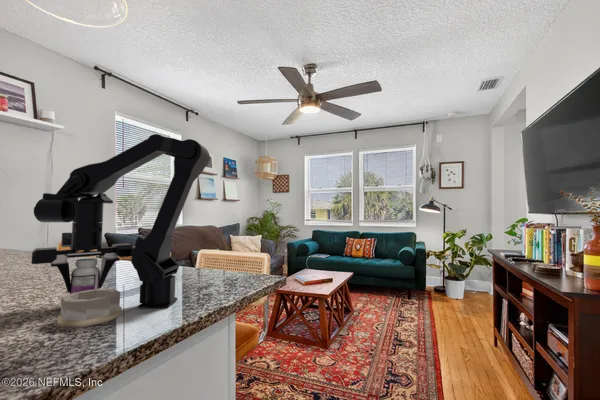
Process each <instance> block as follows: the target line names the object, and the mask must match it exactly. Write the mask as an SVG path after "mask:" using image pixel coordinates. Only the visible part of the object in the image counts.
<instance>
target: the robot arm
mask: <svg viewBox="0 0 600 400" xmlns="http://www.w3.org/2000/svg"><path fill="white" fill-rule="evenodd" d="M162 155H166V156H169V157H173V158H174V160H173V176H172V179H171V181H170V184H169V186H168V188H167V191H166V193H165V196H164V199H163V200H162V204H161V205H160V208H159V210H158V212H157V215H156V218H155V220H154V222H153V225H152V228H151V230H150V232H149V233H148V234H147V235H142V236H137V238H136V240H135V243H134V245H133V244H131V243H129V242H127V243H126V242H125V243H112V245H111V246H110V247H102V246H103V243H102V241H103V223H104V204H109V205H110V204H114V201H113V199H111V198H110V197H108V195H107V194H106V192H107V191H108V190H109V189H111V188H112V187H114V186H115V185H116V183H117V182H118V180H119V179H121V177H123V176H125V175H126V174H128V173H131V172H133V171H134V170H136V169H138V168H140V167H142V166H143V165H146V164H147V163H149V162H151V161H152V160H155V159H156V158H158V157H160V156H162ZM210 158H211V157H210V153H209V151H208V149H207V147H205V146H203V145H202V144H201V143H199V142H198V141H197V140H195V139H191V138H190V139H189V138H188V139H184V140H181V139H178V138H173V137H167V136H163V135H161V134H159V133H157V134H156V133H155V134H154V133H153V134H151V135H150V136H148V138H146V139H144V140H143V141H142V140H141V142H138V143H137V144H135V145H133V146H131V147H130V148H126V150H124V151H121V152H120V153H118V154H116V155H115V156H112V157H111V158H109V159H107V160H104V161H102V162H96V163H95V162H94V163H91V164H89V163H88V164H86V165H82V166H80V167H77V168H75V169H73V170H72V171H71V172H70V173H69V178H68V179H67V180H66V181H65V182H64V184H63V185H62V186H61V187H60V188H59V190H58V191H57V192H56V193H48V192H46V193H45V192H44V193H42V198H40V199H39V200H38V201H37V202H36V204H35V206H34V207H33V215H34V217H35V219H36V220H37V221H38V222H40V223H70V222H72V224H71V225H72V226H71V232H61V248H69V249H62V250H58V248H57V247H37V248H34V249H33V250H32V252H31V265H39V264H40V265H42V264H43V265H44V264H50V267H51V268H54V267H57V269H58V271H59V272H60V274H61V275H62V278H63V282H64V285H65V288H66V290H67V293H68V294H70V292H71V273H70V265H69V261H68V259H73V258H83V257H84V258H85V257H97V256H101V265H100V269H99V270H100V279H99V289H102V287H103V285H104V283H105V281H106V278H107V276H108V274H109V272H110V270H111V268H113V266H114V265H115V262H119V261H120V258H127V257H131V258H130V259H131V261H130V262H131V264H132V266H133V268H134V269H135V271H136V272H137V276H138V279H139V281H140V282H142V284H140V285H139V304H138V305H137V309H167V308H169V307H170V306H171V305H172V304H174V303H175V302H176V301H177V300H178V297H176V295H175V294H176V275H177V273H178V271H179V268H180V264H178V262H176V260H174V258H173V257H172V256H171V252H172V249H173V245H172V244H173V242H172V241H173V239H172V236H173V233H174V231H175V229H176V226H177V223H178V221H179V218H180V216H181V214H182V211H183V209H184V206H185V203H186V201H187V199H188V196H189V193H190V191H191V188H192V186H193V184H194V182H195V181H196V179H197V178H198V177H199V176H200V175H201V174H202V173H203V172H204V170H205V169H206V166H208V164H209V161H210ZM175 274H176V275H175Z"/></svg>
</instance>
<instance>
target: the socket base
mask: <svg viewBox="0 0 600 400" xmlns="http://www.w3.org/2000/svg"><path fill="white" fill-rule="evenodd" d="M120 303H121V291H119V290H117V289H115V288H100V289H94V290H87V291H81V292H75V293H72V294H70V293H69V294H67V295H65V296H62V297H61V301H60V314H59V315H58V316H57V320H56V321H57V322H56V323H57V325H58V326H60V327H62V328H63V327H64V328H84V327H89V326H96V325H100V324H103V323H106V322H110V321H113V320H115V319H116V317H117V318H118V317H119V316H121V314H122V306H121V305H120Z"/></svg>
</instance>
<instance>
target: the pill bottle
mask: <svg viewBox="0 0 600 400" xmlns="http://www.w3.org/2000/svg"><path fill="white" fill-rule="evenodd" d="M97 264H98V259H97V258H80V259H76V260H75V267H76V268H74V269H73V270H72V271H71V273H70V281H71V292H70V293H69V295H70V294H72V293H75V292H81V291H87V290H94V289H99V279H100V270H101V269H100V268H99V267H97Z"/></svg>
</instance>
